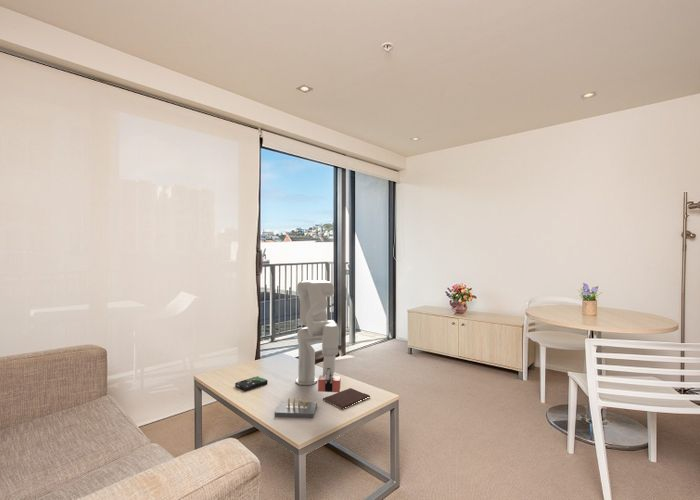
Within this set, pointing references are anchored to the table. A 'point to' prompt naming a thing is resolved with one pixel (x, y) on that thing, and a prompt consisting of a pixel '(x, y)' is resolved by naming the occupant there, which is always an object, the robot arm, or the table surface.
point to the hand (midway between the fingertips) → (329, 388)
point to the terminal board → (296, 409)
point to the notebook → (346, 398)
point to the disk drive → (251, 383)
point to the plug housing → (335, 383)
